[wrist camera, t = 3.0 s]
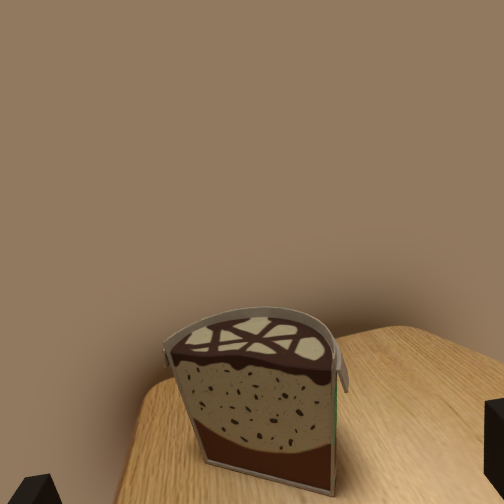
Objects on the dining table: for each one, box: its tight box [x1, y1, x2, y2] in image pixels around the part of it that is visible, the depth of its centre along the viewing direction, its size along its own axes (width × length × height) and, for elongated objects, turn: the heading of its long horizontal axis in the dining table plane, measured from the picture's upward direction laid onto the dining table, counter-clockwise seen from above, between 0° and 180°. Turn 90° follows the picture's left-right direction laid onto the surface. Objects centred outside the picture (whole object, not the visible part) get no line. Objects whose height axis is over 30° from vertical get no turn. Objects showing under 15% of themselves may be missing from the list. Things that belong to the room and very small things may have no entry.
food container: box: [162, 307, 349, 497], centre depth 25 cm, size 12×6×10 cm, turn 67°
